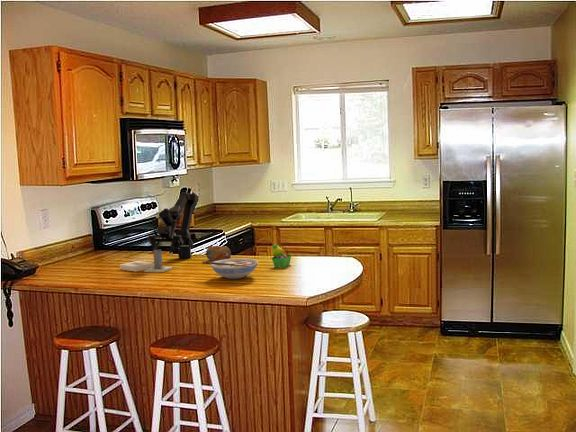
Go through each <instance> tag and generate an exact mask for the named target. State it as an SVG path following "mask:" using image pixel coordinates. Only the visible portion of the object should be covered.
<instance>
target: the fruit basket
mask: <svg viewBox="0 0 576 432" xmlns="http://www.w3.org/2000/svg"><path fill="white" fill-rule="evenodd" d="M271 250H272V255H273V257H271V260H272V264H273V266H274V268H277V269H282V268H283V269H284V268H285V267H288V266H289V265H290V263H291V258H292V254H289V253H288V254H287V253H286V254H285V253H283V252H284V250H283V248H282V247H280V246H279V245H278V244H273V245H272V247H271Z"/></svg>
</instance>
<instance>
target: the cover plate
mask: <svg viewBox="0 0 576 432" xmlns="http://www.w3.org/2000/svg"><path fill="white" fill-rule="evenodd" d="M152 266H154V262H150V261H143V260H137V261H131V262H125V263H122V264H121V263H120V264H119V268H120V270H123V271H129V272H130V271H131V272H141V271H144V270H147V269H149V268H151V267H152Z"/></svg>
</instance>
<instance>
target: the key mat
mask: <svg viewBox="0 0 576 432" xmlns="http://www.w3.org/2000/svg"><path fill="white" fill-rule="evenodd" d="M173 268H174V267H173V266H165V268H164V269H152V267H151V268H149V269H145V270H143V272H144V273H165V272H168V271H169V270H171V269H173Z"/></svg>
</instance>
